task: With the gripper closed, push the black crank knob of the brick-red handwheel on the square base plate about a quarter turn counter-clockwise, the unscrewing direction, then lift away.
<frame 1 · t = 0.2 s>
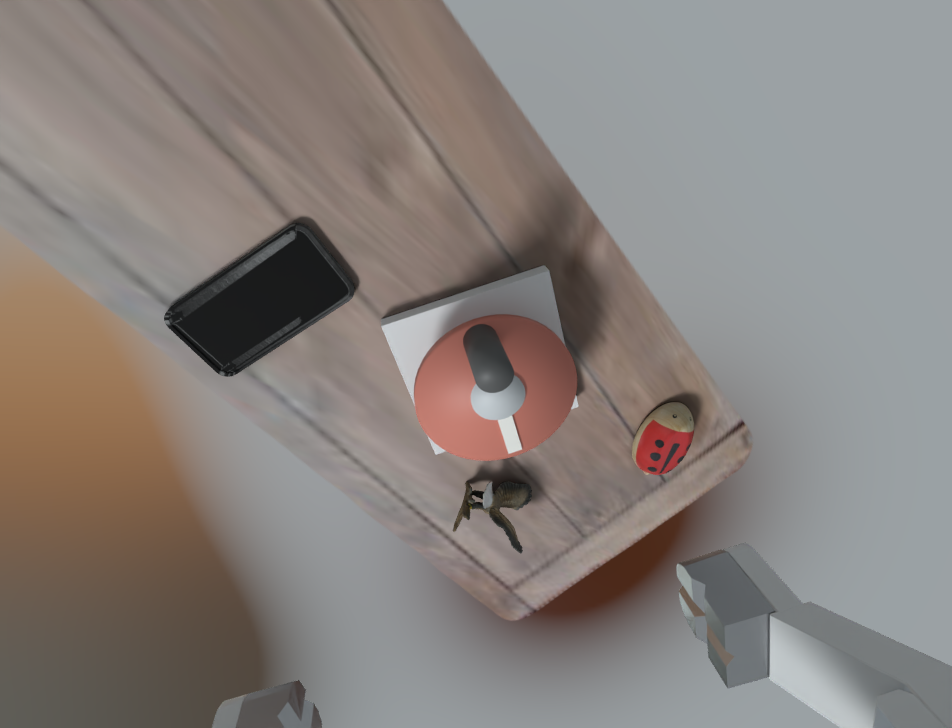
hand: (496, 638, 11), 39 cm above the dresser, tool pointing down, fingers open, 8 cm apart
eagle figurine: (493, 492, 62), on the dresser
phone: (264, 300, 47), on the dresser
handwheel: (503, 409, 46), point 8 cm above the dresser, hinge at 0.0°
ladybug figurine: (657, 432, 62), on the dresser
square base plate: (485, 362, 53), on the dresser
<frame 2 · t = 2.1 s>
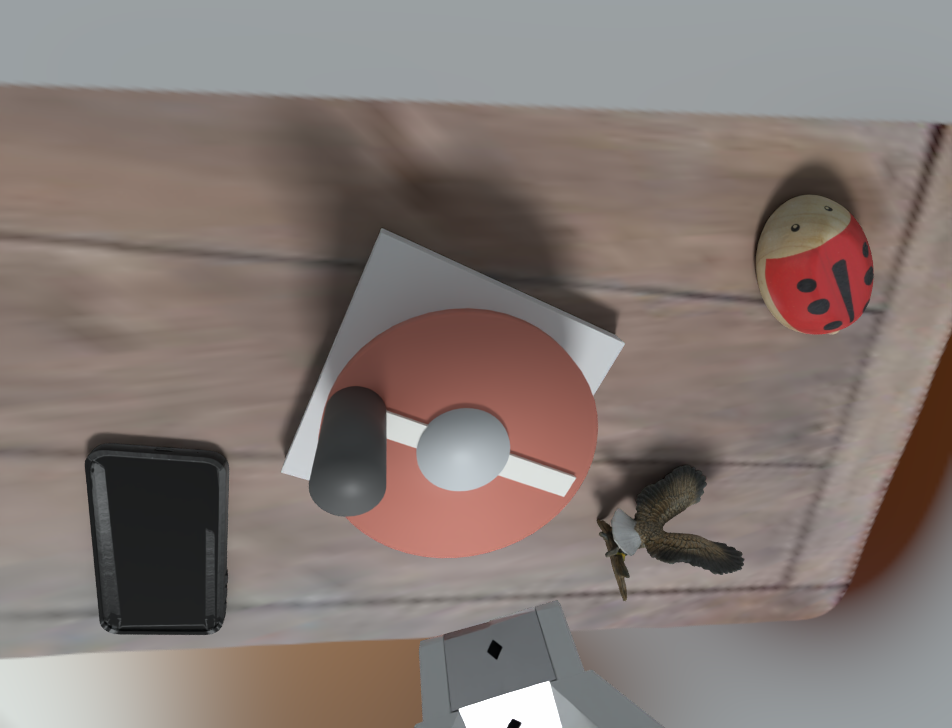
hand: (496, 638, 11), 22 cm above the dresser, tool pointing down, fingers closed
eagle figurine: (646, 504, 40), on the dresser
phone: (168, 537, 35), on the dresser
handwheel: (469, 474, 26), point 8 cm above the dresser, hinge at 0.0°
ladybug figurine: (797, 264, 34), on the dresser
square base plate: (450, 396, 34), on the dresser
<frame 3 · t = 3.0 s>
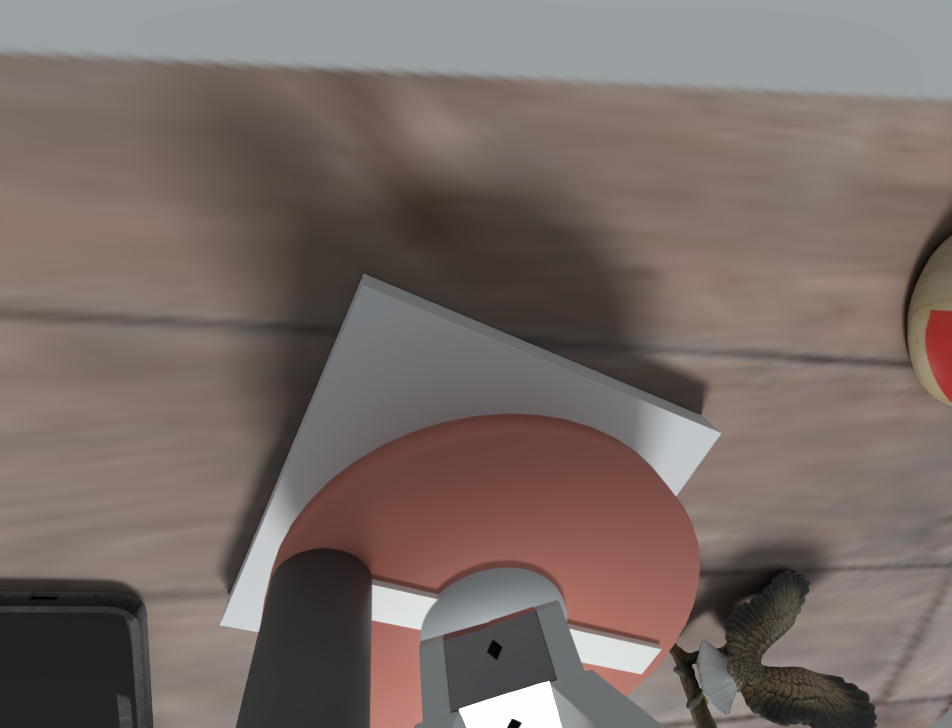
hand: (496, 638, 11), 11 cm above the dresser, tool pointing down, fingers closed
eagle figurine: (729, 617, 30), on the dresser
phone: (67, 699, 25), on the dresser
handwheel: (508, 688, 16), point 8 cm above the dresser, hinge at 0.0°
square base plate: (466, 505, 23), on the dresser
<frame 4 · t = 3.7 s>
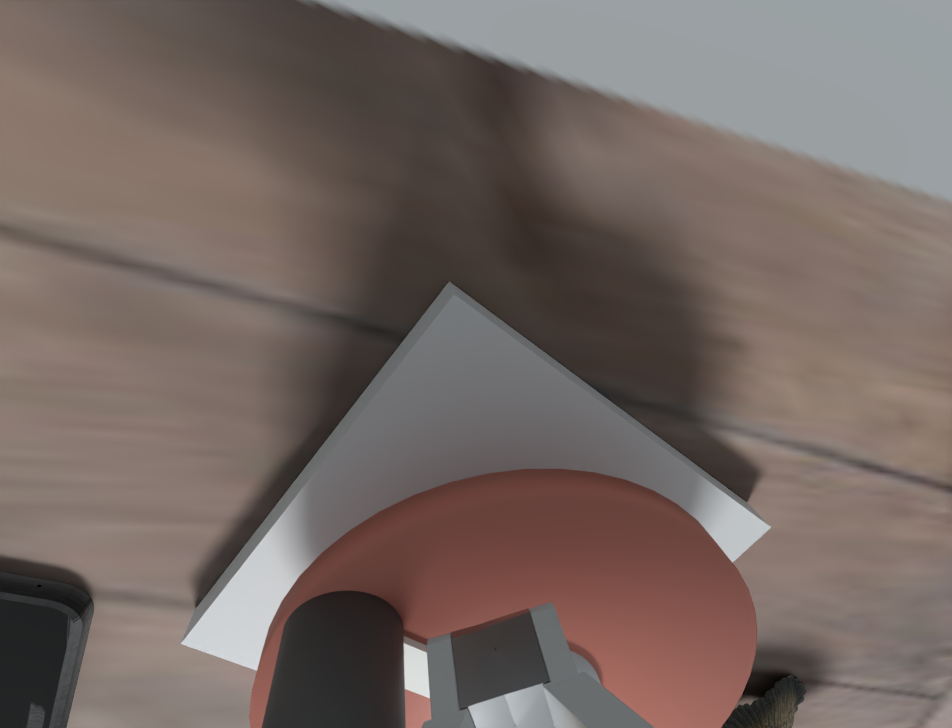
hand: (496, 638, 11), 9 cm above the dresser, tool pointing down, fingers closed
eagle figurine: (717, 713, 29), on the dresser
square base plate: (484, 553, 21), on the dresser
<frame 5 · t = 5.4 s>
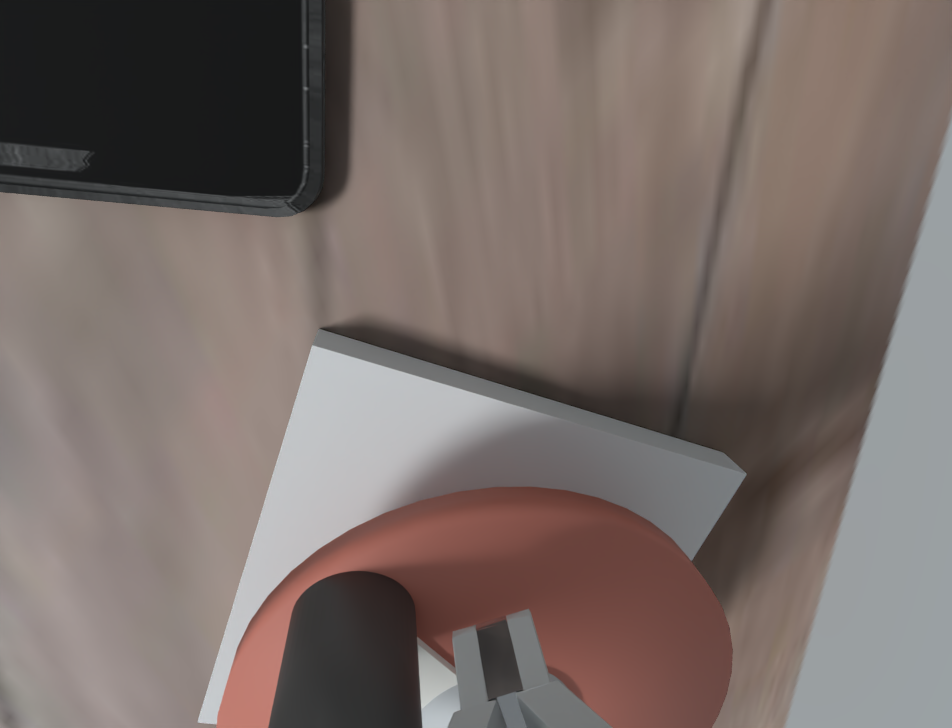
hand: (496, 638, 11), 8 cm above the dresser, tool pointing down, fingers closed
phone: (12, 26, 13), on the dresser
square base plate: (463, 570, 21), on the dresser
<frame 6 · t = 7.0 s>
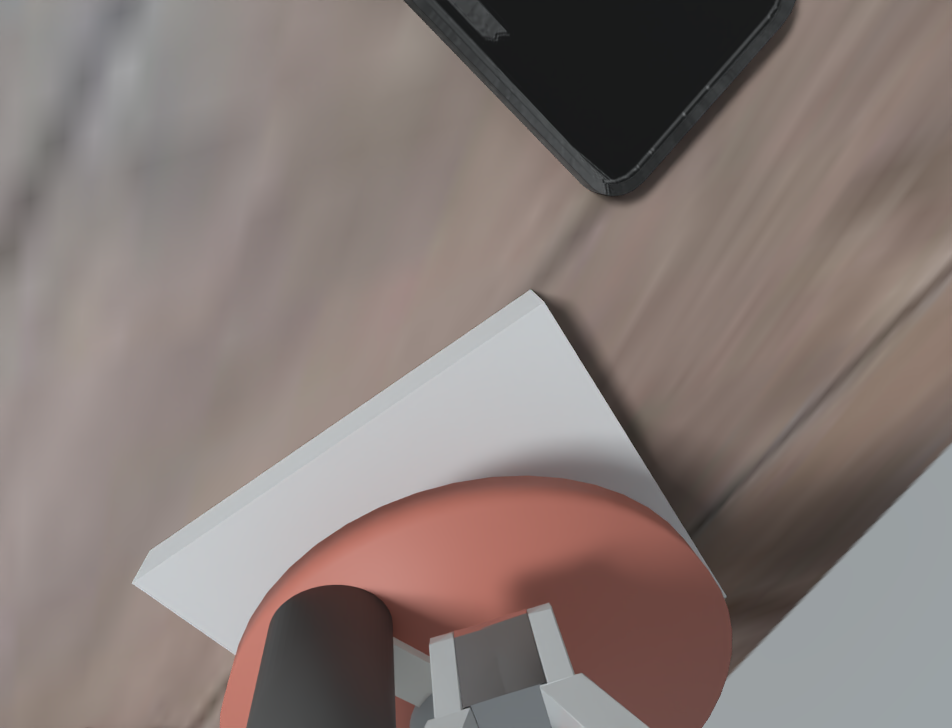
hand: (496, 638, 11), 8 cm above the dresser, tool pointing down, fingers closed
square base plate: (463, 561, 21), on the dresser
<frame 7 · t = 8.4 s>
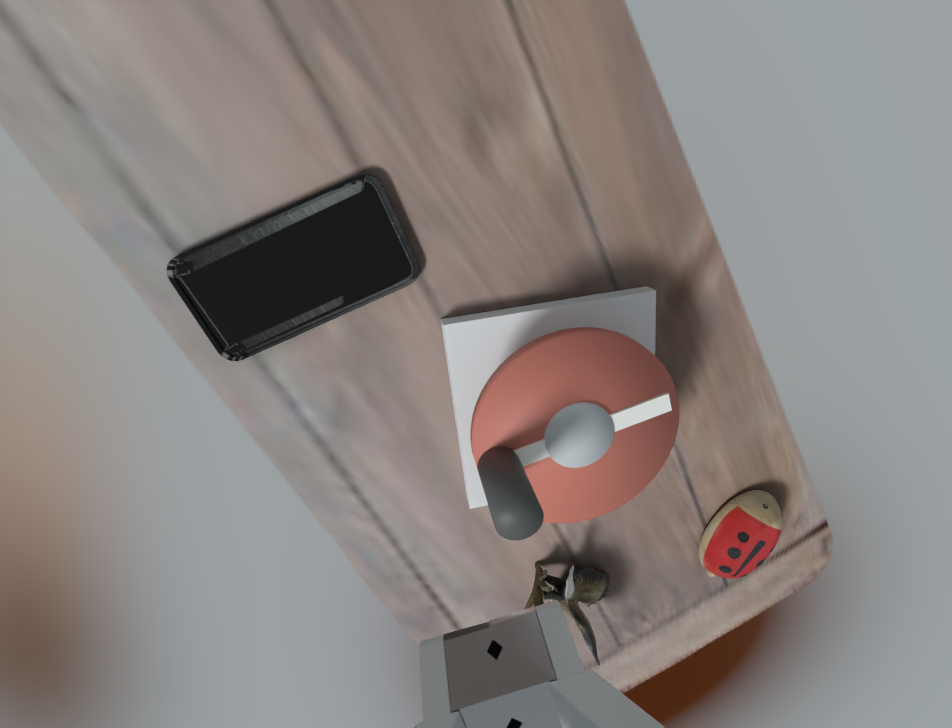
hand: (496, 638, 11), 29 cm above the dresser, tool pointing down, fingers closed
eagle figurine: (563, 580, 50), on the dresser
phone: (300, 268, 36), on the dresser
handwheel: (590, 451, 35), point 8 cm above the dresser, hinge at 101.5°
ladybug figurine: (730, 524, 51), on the dresser
square base plate: (552, 397, 42), on the dresser
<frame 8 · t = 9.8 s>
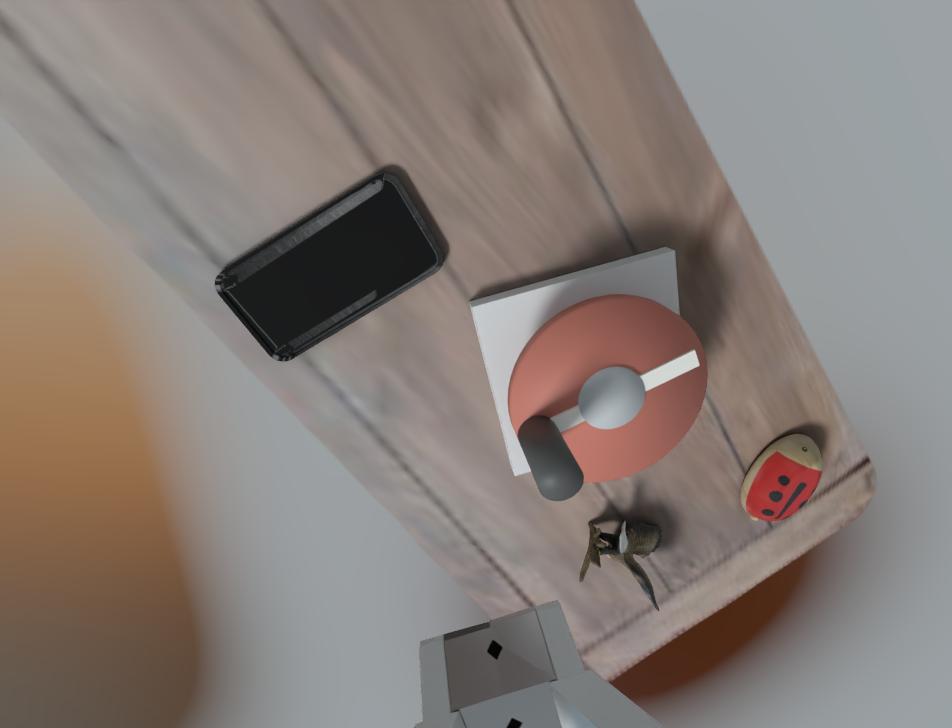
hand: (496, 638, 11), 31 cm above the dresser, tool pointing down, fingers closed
eagle figurine: (617, 535, 53), on the dresser
phone: (333, 268, 39), on the dresser
handwheel: (623, 412, 36), point 9 cm above the dresser, hinge at 101.5°
ladybug figurine: (771, 470, 53), on the dresser
square base plate: (582, 364, 44), on the dresser
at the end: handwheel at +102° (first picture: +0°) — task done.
